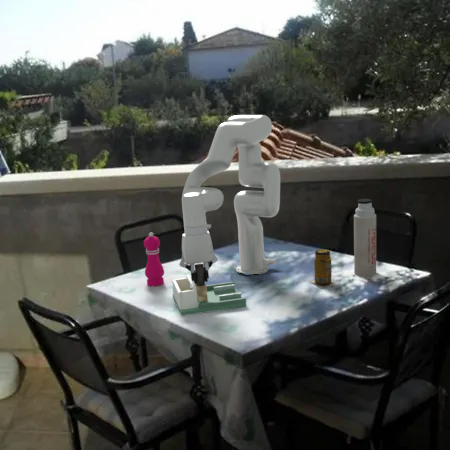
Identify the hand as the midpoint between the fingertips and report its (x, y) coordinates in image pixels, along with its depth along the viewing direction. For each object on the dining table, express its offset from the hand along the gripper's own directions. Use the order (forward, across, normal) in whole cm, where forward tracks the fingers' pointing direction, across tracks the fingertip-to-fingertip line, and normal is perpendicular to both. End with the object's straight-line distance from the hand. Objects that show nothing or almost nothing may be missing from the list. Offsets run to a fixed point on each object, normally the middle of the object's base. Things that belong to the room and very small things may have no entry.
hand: (200, 281), depth 215 cm
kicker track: (+7, -9, 0) cm, 11 cm away
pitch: (+8, -2, 0) cm, 8 cm away
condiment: (+9, -45, -1) cm, 46 cm away
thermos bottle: (+9, -63, -4) cm, 64 cm away
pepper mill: (+8, +12, -26) cm, 30 cm away
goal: (+6, +6, 0) cm, 9 cm away
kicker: (+6, 0, 0) cm, 6 cm away
